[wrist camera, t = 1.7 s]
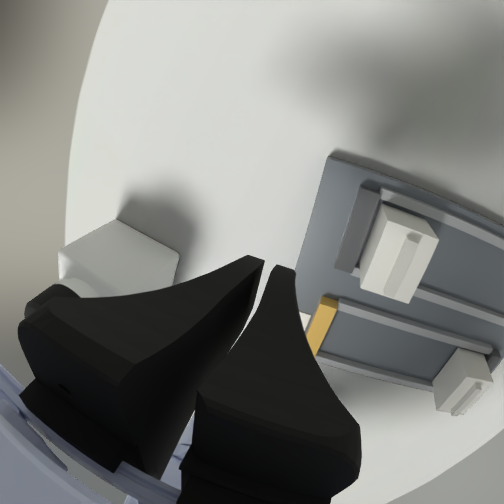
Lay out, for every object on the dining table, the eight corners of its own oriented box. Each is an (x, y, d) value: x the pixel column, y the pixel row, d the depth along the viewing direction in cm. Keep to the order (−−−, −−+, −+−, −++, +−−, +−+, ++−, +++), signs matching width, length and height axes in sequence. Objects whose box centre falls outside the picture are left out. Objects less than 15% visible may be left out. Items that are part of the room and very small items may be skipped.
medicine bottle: (109, 278, 28) (23, 347, 18) (115, 216, 25) (6, 279, 14) (166, 313, 28) (87, 402, 17) (181, 252, 24) (78, 344, 14)
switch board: (467, 390, 21) (471, 407, 19) (273, 337, 25) (266, 354, 23) (554, 255, 14) (567, 267, 12) (328, 155, 18) (325, 160, 16)
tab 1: (401, 276, 18) (409, 310, 14) (359, 262, 18) (360, 294, 15) (425, 219, 16) (442, 244, 13) (381, 203, 16) (389, 224, 13)
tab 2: (457, 387, 20) (464, 420, 16) (432, 381, 20) (437, 416, 17) (483, 354, 18) (495, 388, 14) (458, 347, 18) (468, 382, 15)
